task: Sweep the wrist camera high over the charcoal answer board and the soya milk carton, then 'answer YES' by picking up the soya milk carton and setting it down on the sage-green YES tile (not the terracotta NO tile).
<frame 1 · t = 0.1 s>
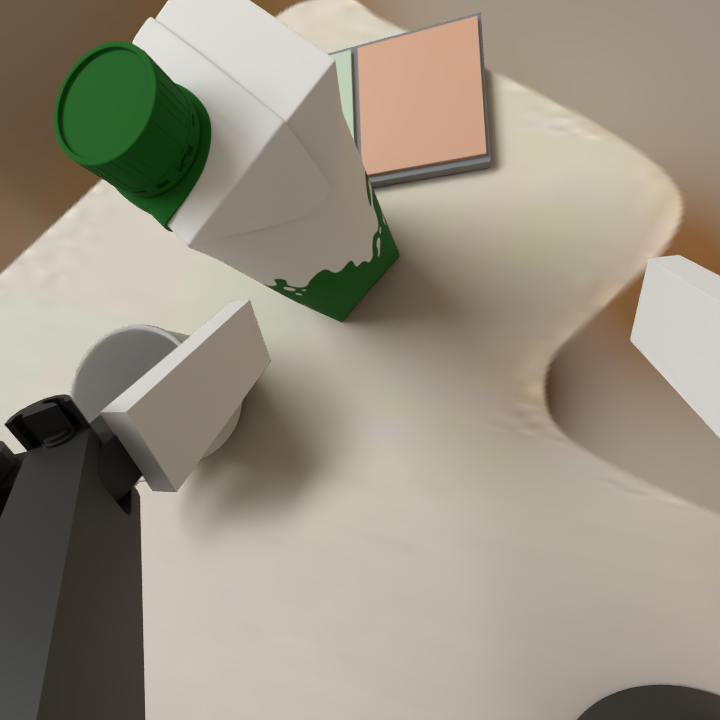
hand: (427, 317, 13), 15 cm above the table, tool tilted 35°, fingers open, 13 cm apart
teacup: (197, 412, 33), on the table
answer board: (359, 121, 31), on the table
soya milk: (342, 263, 30), on the table
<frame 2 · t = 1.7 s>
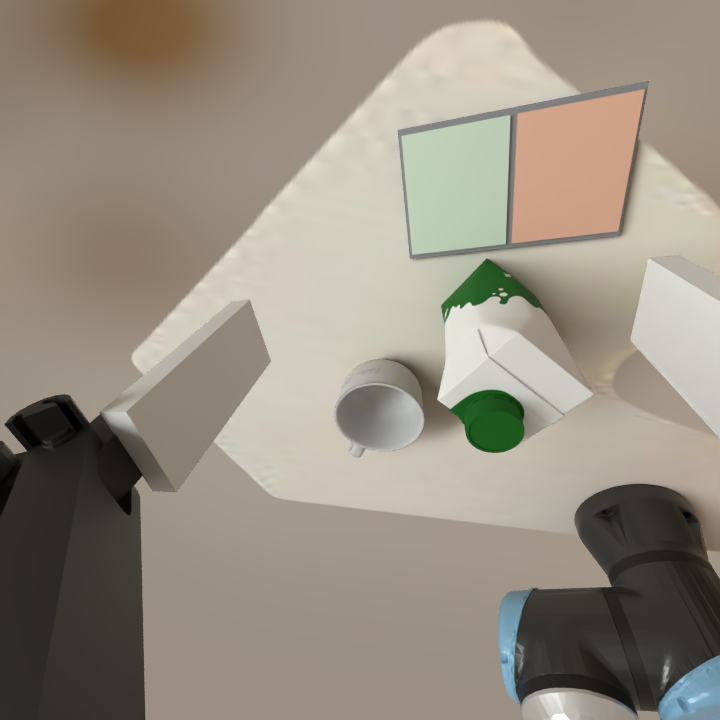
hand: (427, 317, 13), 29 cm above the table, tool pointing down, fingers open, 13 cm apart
teacup: (379, 388, 51), on the table
answer board: (509, 182, 35), on the table
soya milk: (485, 300, 42), on the table
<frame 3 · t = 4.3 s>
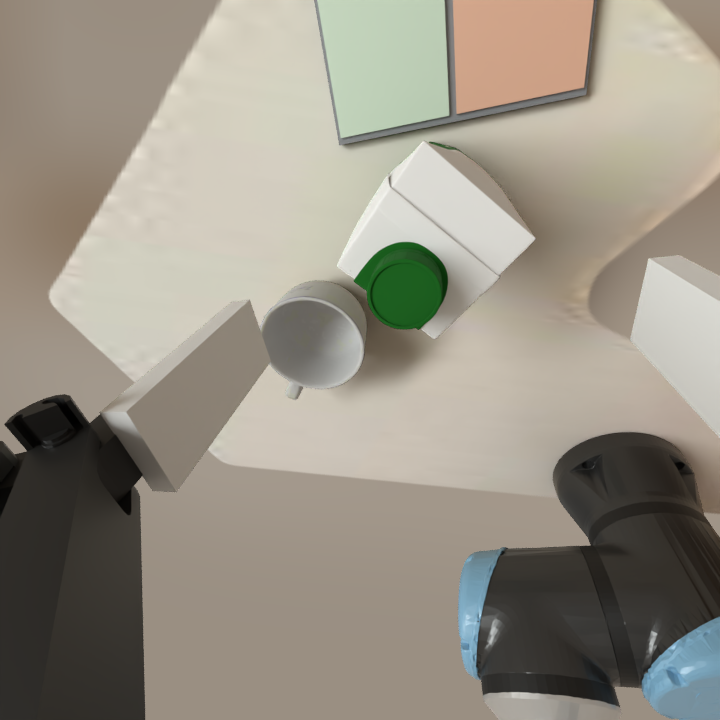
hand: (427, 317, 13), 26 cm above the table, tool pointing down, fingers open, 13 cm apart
teacup: (323, 323, 44), on the table
answer board: (449, 31, 28), on the table
soya milk: (433, 200, 35), on the table
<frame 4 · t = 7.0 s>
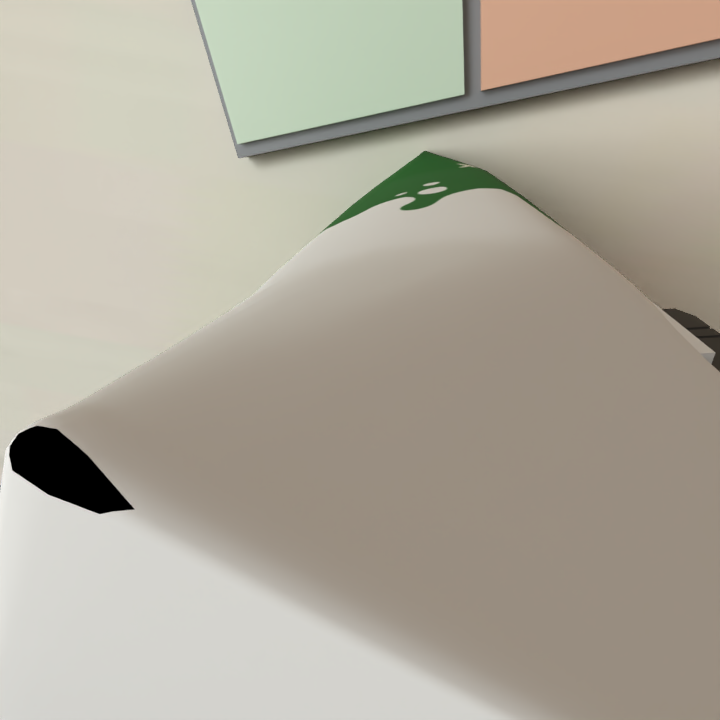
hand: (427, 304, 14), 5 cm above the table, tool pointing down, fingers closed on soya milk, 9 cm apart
soya milk: (432, 262, 18), on the table, touching gripper
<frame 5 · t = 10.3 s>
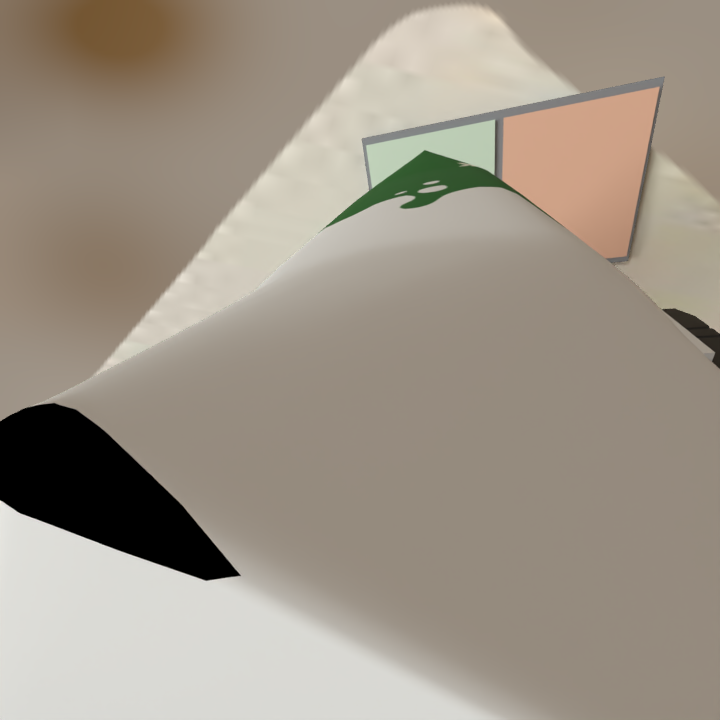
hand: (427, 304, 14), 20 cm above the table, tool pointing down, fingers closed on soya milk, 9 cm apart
answer board: (496, 199, 29), on the table
soya milk: (432, 261, 18), point 15 cm above the table, touching gripper
when the fingers open (7 cm above the table, at t = 13.4 s): soya milk drops 1 cm, resting on answer board.
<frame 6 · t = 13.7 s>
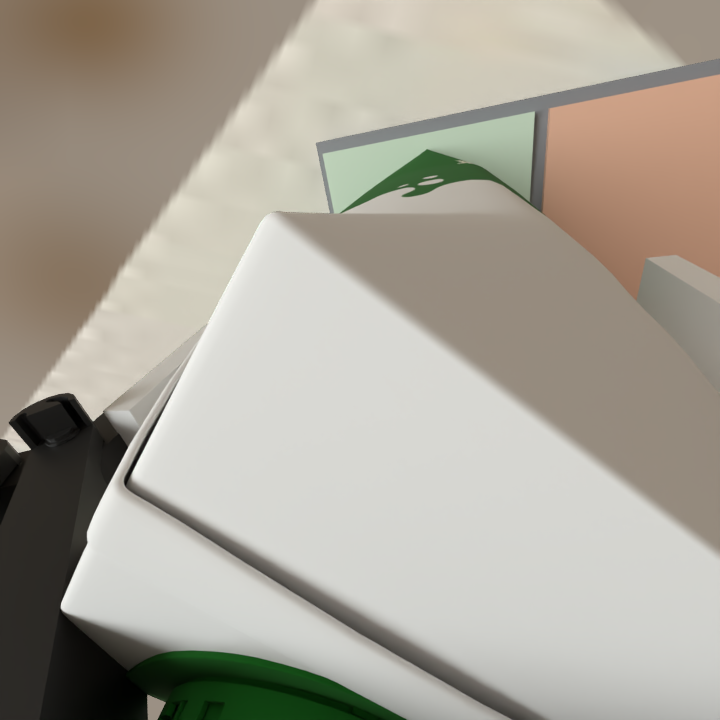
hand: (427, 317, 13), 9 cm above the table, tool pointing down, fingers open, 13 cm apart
answer board: (529, 237, 19), on the table
soya milk: (434, 254, 19), point 1 cm above the table, touching answer board
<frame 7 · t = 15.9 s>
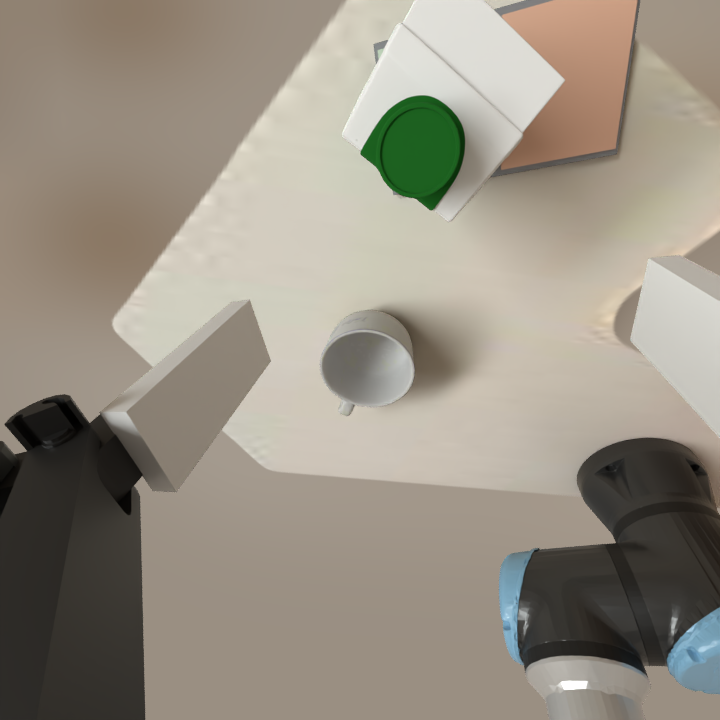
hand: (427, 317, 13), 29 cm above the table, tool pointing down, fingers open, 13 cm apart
teacup: (369, 345, 49), on the table
answer board: (496, 100, 32), on the table
soya milk: (441, 113, 33), point 1 cm above the table, touching answer board
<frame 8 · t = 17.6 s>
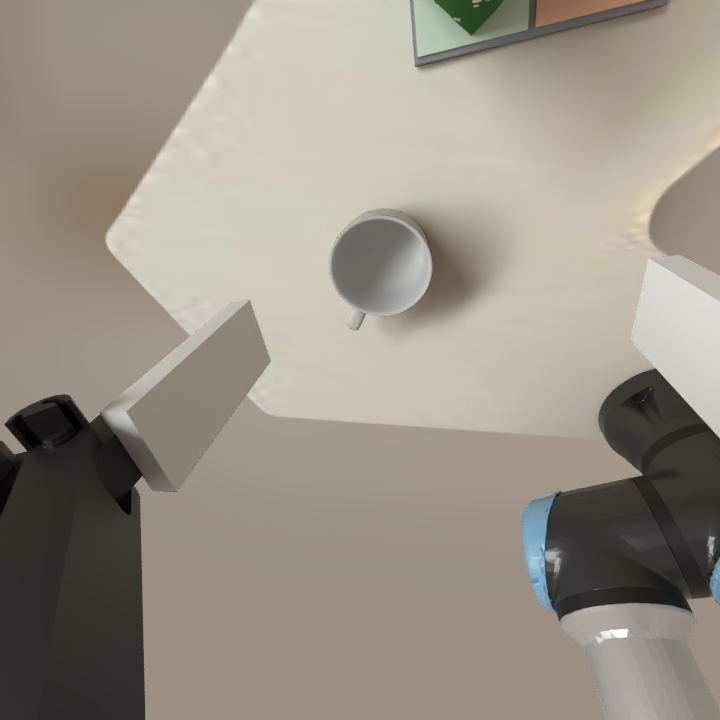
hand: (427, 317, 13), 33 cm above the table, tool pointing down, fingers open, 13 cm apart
teacup: (380, 259, 45), on the table
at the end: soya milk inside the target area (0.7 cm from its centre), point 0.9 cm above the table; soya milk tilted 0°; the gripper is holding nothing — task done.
